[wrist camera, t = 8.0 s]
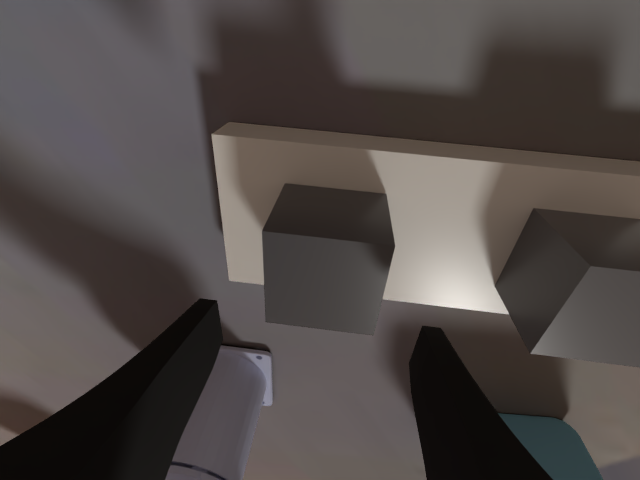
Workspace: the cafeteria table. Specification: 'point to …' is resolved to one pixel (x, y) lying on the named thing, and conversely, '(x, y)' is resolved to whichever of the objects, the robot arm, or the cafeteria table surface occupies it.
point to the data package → (553, 446)
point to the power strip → (465, 227)
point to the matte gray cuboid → (327, 258)
